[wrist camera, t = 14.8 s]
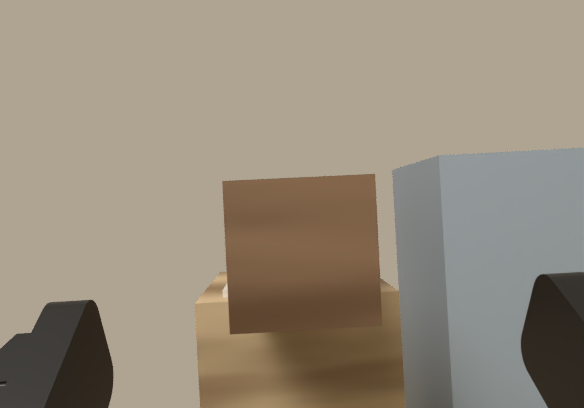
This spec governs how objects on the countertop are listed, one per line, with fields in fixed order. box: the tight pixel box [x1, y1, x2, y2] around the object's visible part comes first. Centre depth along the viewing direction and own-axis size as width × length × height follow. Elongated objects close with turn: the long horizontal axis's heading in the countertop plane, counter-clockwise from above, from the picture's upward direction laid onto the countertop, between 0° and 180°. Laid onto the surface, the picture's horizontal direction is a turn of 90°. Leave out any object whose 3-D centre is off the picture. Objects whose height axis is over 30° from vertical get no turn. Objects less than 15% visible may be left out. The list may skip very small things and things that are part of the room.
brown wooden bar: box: [223, 174, 382, 335], centre depth 24 cm, size 20×4×4 cm, turn 2°
